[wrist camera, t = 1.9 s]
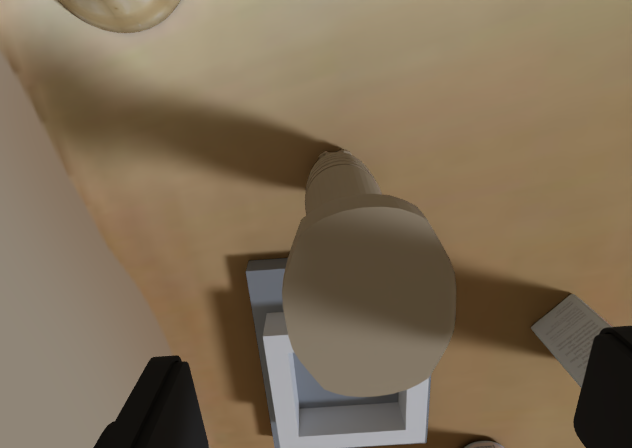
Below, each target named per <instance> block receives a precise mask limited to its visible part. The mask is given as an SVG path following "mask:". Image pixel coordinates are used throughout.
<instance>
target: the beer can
mask: <svg viewBox="0 0 632 448" xmlns="http://www.w3.org/2000/svg"><path fill="white" fill-rule="evenodd" d="M464 448H504V447H503V446H502V445H500V444H499V443H496V442H492V441H476V442H473V443H470V444H468V445H467V446H466V447H464Z"/></svg>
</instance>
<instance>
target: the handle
mask: <svg viewBox="0 0 632 448" xmlns="http://www.w3.org/2000/svg"><path fill="white" fill-rule="evenodd" d="M305 210H306V216H305V217H304V218H303V219H302V220H301V222H300V225H299V227H298V230H297V233H296V236H295V238H294V241H293V244H292V247H291V250H290V253H289V257H288V260H287V264H286V268H285V272H284V277H283V286H282V300H283V311H284V316H285V321H286V326H287V331H288V337H289V340H290V343H291V346H292V349H293V351H294V352H295V354H296V356H297V357H298V359H299V360H300V362H301V363H302V364H303V365H304V367H305V368H306V369H307V370H308V371H309V373H310V374H311V375H312V376H313V377H314V378H315V380H316V381H317V382H318V383H319V384H320V385H321V386H322V387H323V389H325V390H327V391H330V392H333V393H336V394H340V395H344V396H353V397H375V396H383V395H389V394H394V393H397V392H401V391H404V390H408V389H410V388H412V387H414V386H416V385H418V384H420V383H421V382H423V381H425V380H426V379H428V378H429V377H430V375H431V373H432V372H433V370H434V368H435V367H436V365H437V364H438V362H439V360H440V358H441V357H442V355H443V353H444V351H445V350H446V348H447V346H448V344H449V342H450V339H451V337H452V334H453V332H454V325H455V319H456V280H455V272H454V270H453V267H452V264H451V262H450V259H449V257H448V255H447V253H446V251H445V250H444V248H443V246H442V244H441V242H440V241H439V239H438V237H437V236H436V234H435V232H434V230H433V229H432V227H431V225H430V224H429V222H428V220H427V219H426V217H425V216H424V215H423V213H422V212H421V211H420V210H419V208H418V207H416V206H415V205H413V204H411V203H409V202H407V201H405V200H402V199H399V198H396V197H393V196H390V195H382V193H381V190H380V188H379V186H378V184H377V182H376V180H375V178H374V177H373V175H372V174H371V172H370V171H369V169H368V168H367V167H366V166H365V165H364V164H363V163H362V162H361V161H360V160H359V159H357V158H356V157H354V156H352V155H351V153H350V152H349V151H347V150H344V149H341V150H340V151H337V152H327V151H325V152H323V153H321V154H320V155H319V160H318V161H317V162H316V163H315V165H314V166H313V168H312V170H311V172H310V174H309V177H308V181H307V185H306V194H305Z"/></svg>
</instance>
